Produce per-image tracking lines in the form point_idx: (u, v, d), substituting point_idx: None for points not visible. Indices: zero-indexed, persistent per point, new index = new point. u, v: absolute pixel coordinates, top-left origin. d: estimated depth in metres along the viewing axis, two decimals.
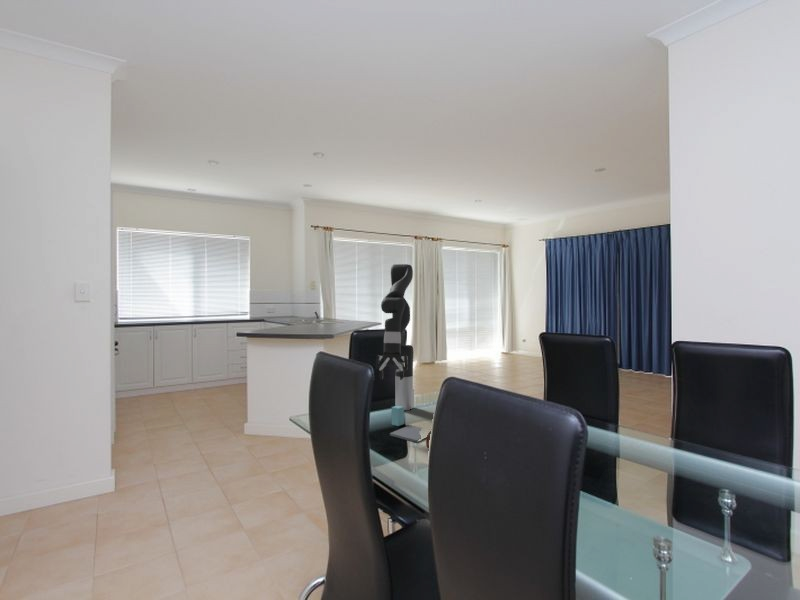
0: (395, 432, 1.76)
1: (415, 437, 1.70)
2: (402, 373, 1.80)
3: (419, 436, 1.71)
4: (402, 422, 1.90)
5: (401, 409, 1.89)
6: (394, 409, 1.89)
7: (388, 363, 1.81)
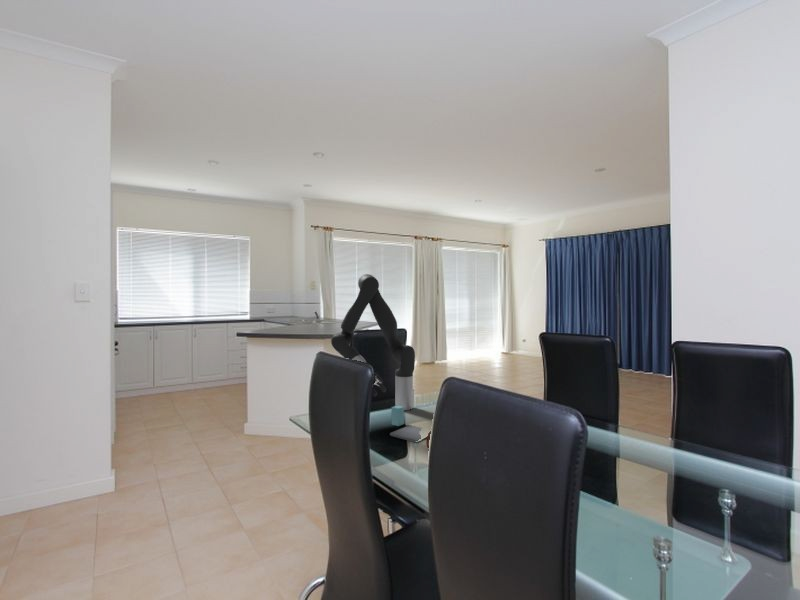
0: (395, 432, 1.76)
1: (415, 437, 1.70)
2: None
3: (419, 436, 1.71)
4: (402, 422, 1.90)
5: (401, 409, 1.89)
6: (394, 409, 1.89)
7: None
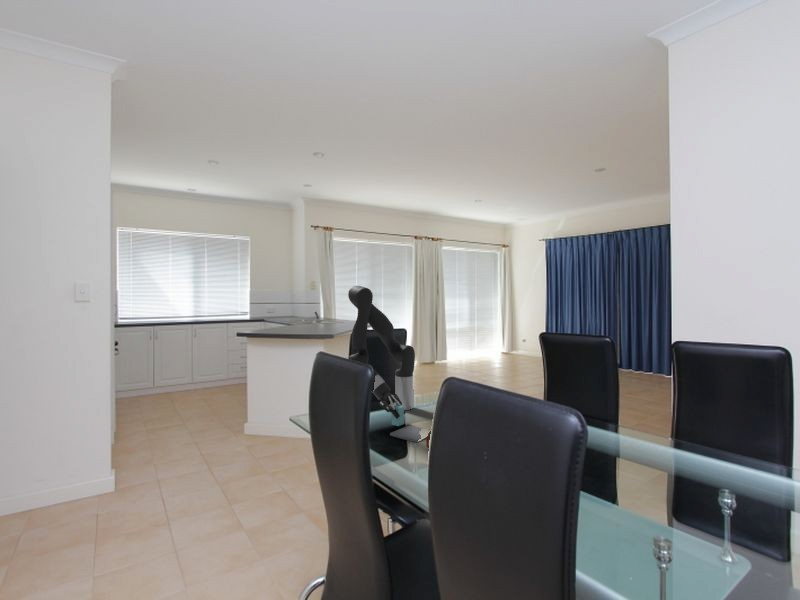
0: (395, 432, 1.76)
1: (415, 437, 1.70)
2: (393, 413, 1.87)
3: (419, 436, 1.71)
4: (402, 422, 1.90)
5: (401, 409, 1.89)
6: None
7: None
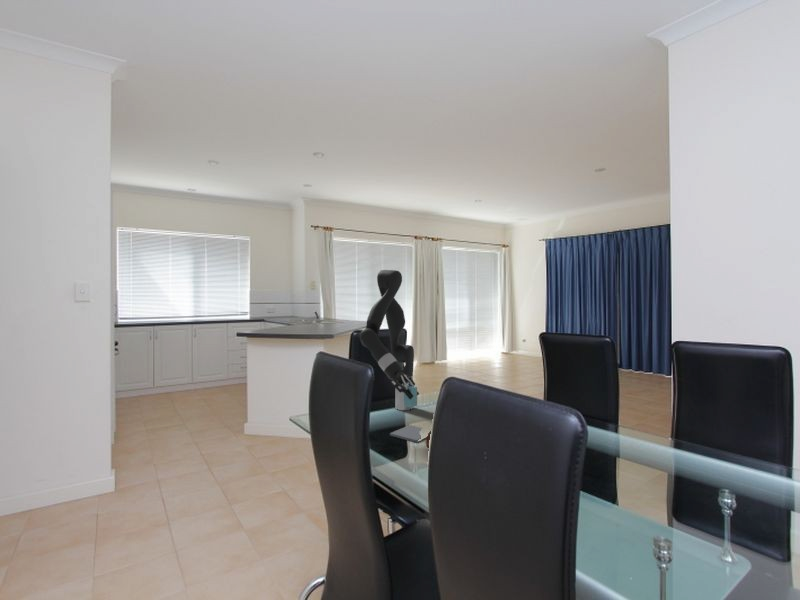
0: (395, 432, 1.76)
1: (415, 437, 1.70)
2: (406, 394, 1.74)
3: (419, 436, 1.71)
4: (415, 403, 1.76)
5: (414, 389, 1.75)
6: (407, 389, 1.75)
7: None
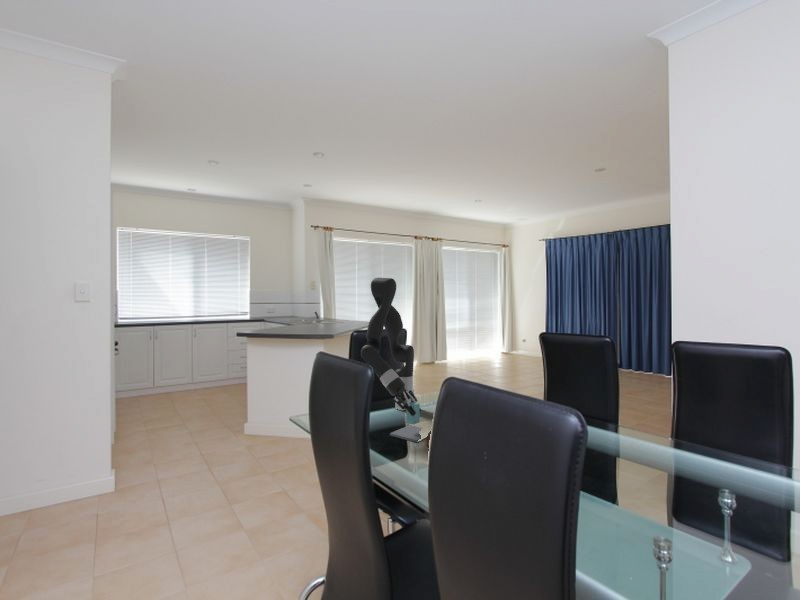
0: (395, 432, 1.76)
1: (415, 437, 1.70)
2: (408, 411, 1.73)
3: (419, 436, 1.71)
4: (418, 420, 1.75)
5: (417, 406, 1.75)
6: None
7: None
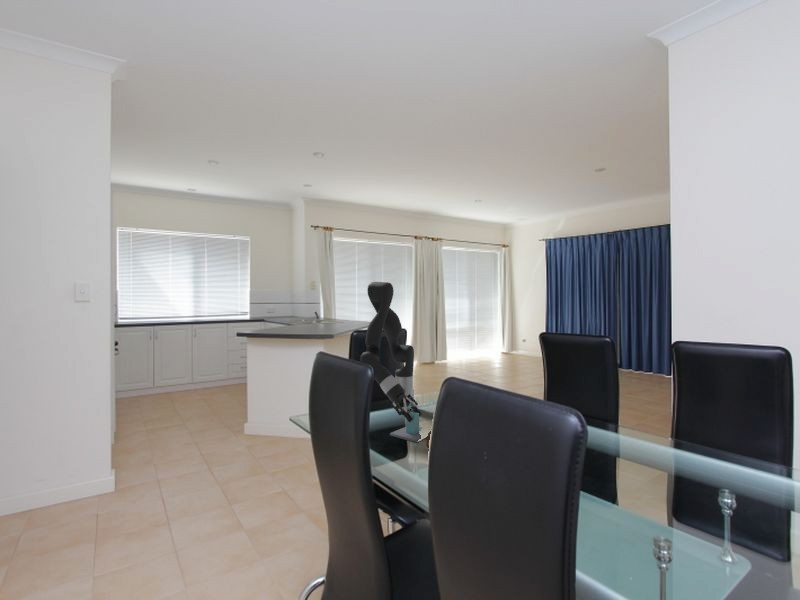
0: (395, 432, 1.76)
1: (415, 437, 1.70)
2: (405, 416, 1.72)
3: (419, 436, 1.71)
4: (417, 430, 1.76)
5: (417, 416, 1.75)
6: None
7: None
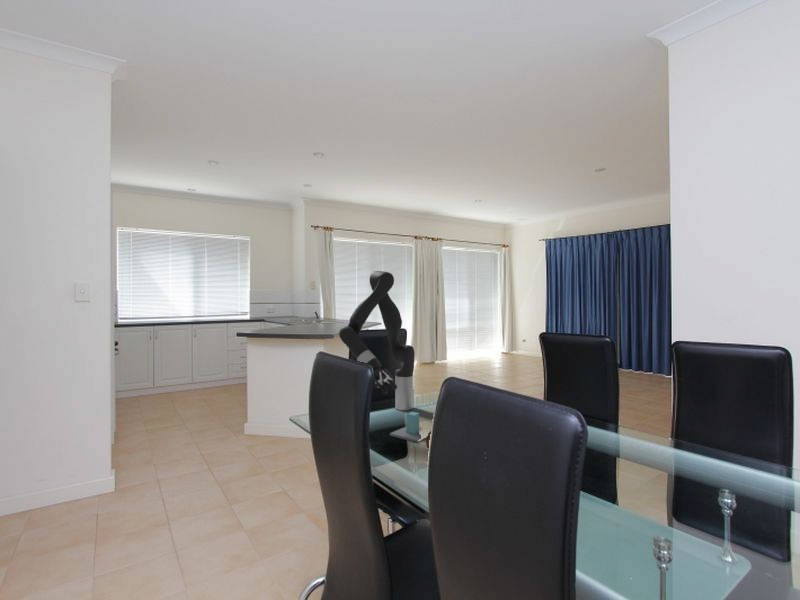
0: (395, 432, 1.76)
1: (415, 437, 1.70)
2: None
3: (419, 436, 1.71)
4: (417, 430, 1.76)
5: (417, 416, 1.75)
6: (409, 416, 1.74)
7: None
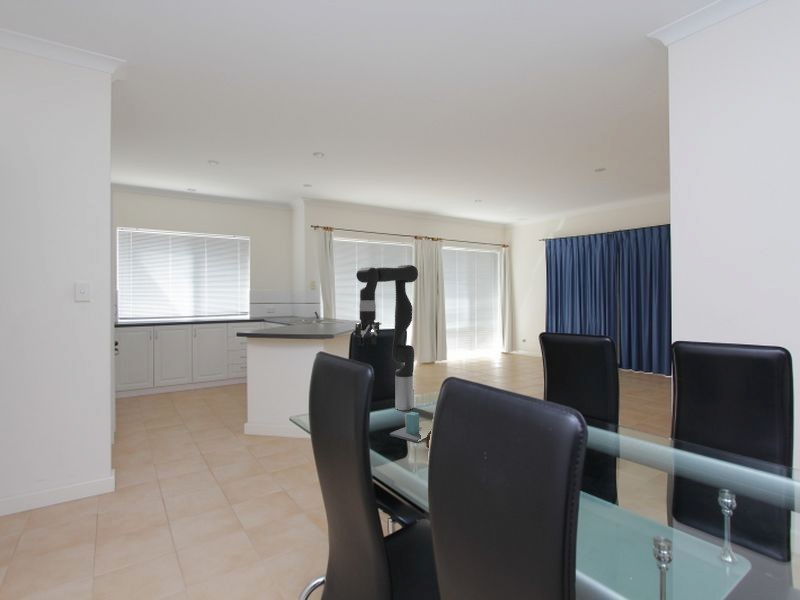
0: (395, 432, 1.76)
1: (415, 437, 1.70)
2: (359, 339, 1.91)
3: (419, 436, 1.71)
4: (417, 430, 1.76)
5: (417, 416, 1.75)
6: (409, 416, 1.74)
7: None
